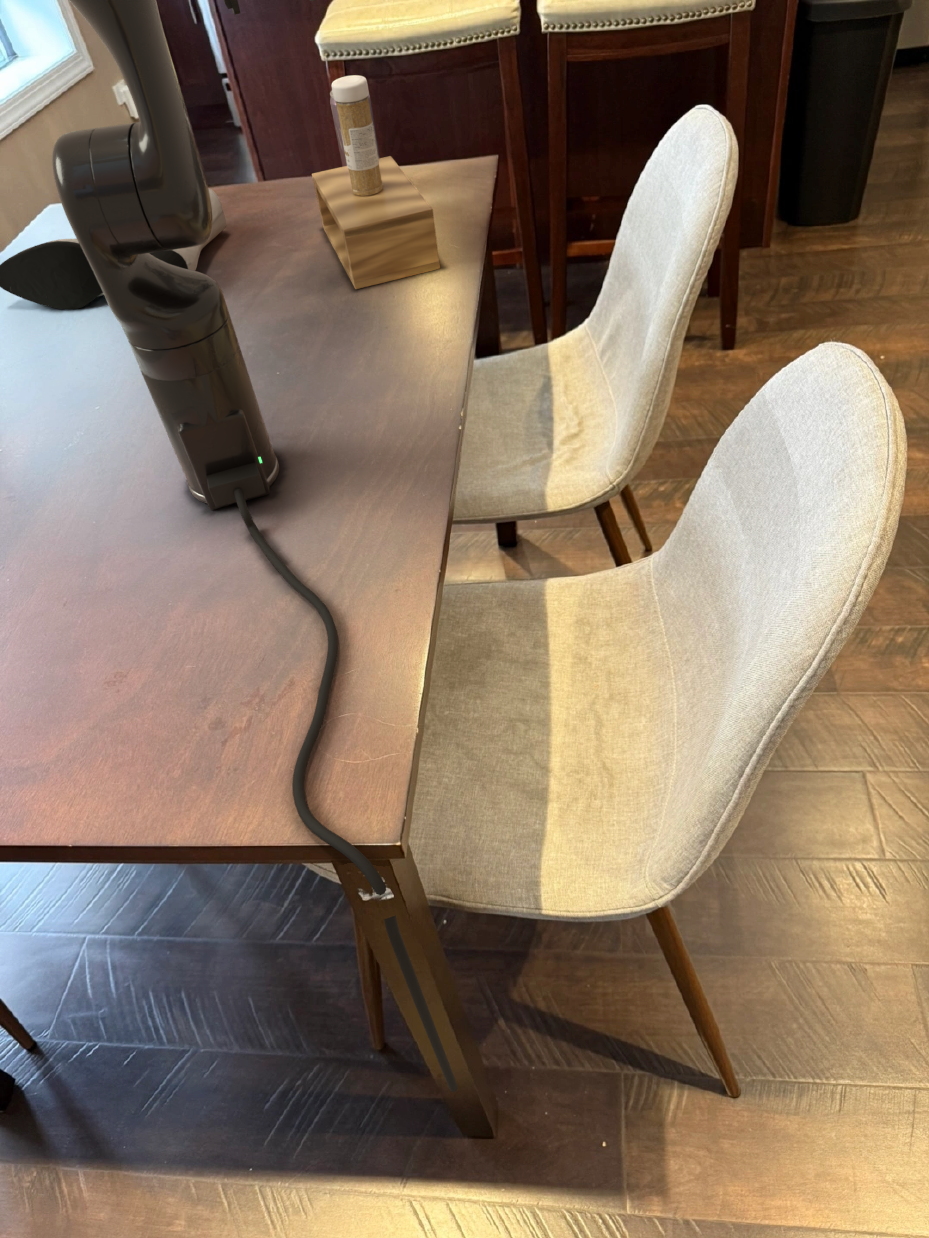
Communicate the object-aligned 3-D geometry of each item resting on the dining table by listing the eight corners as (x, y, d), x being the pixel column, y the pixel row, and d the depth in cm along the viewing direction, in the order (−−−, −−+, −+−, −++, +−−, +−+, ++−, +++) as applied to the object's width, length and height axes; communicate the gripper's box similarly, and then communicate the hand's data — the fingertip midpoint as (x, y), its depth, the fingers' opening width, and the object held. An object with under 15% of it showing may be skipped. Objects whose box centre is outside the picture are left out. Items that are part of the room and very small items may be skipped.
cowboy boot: (167, 250, 112) (230, 176, 129) (-29, 240, 115) (58, 169, 132) (185, 318, 119) (243, 239, 136) (0, 307, 122) (79, 232, 139)
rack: (440, 268, 118) (432, 208, 112) (355, 289, 116) (343, 229, 111) (399, 211, 133) (390, 155, 127) (323, 229, 131) (311, 173, 125)
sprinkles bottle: (350, 187, 120) (329, 77, 110) (382, 182, 120) (364, 72, 111) (352, 199, 117) (331, 88, 107) (386, 194, 117) (367, 82, 107)
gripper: (160, -182, 80) (214, 24, 92) (309, -205, 82) (344, 0, 94) (157, -183, 86) (208, 12, 97) (297, -205, 88) (331, -10, 99)
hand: (275, 6), depth 95 cm, fingers open, 8 cm apart
